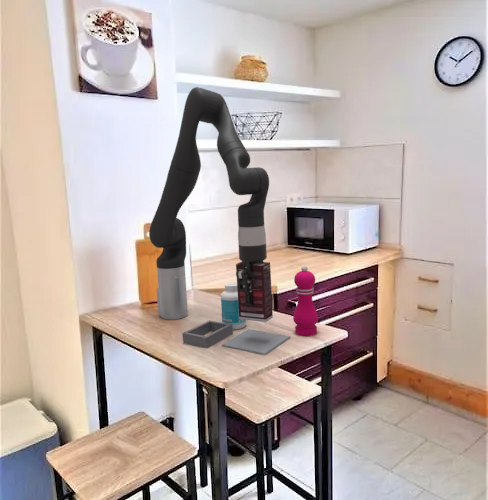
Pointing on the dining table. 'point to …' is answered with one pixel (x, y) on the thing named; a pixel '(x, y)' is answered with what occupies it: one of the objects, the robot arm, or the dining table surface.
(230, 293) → the pill bottle
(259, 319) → the supplement box
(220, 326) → the gray rectangular frame
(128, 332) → the dining table surface
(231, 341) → the slate mat
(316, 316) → the pepper mill
